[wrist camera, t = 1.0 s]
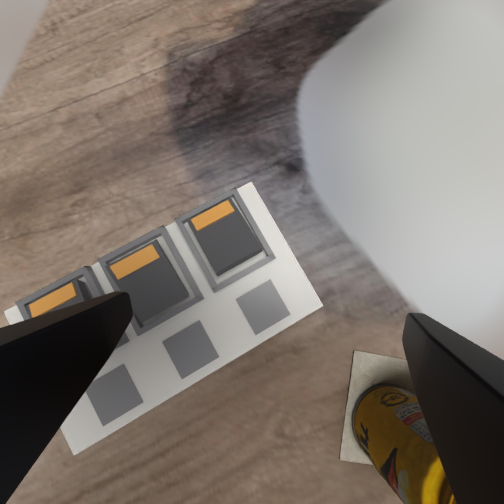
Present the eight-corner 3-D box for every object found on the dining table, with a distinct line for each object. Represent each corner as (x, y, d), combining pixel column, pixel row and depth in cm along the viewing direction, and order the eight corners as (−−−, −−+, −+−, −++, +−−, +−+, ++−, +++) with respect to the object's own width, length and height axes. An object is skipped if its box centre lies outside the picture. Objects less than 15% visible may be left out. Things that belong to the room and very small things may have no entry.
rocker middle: (143, 318, 20) (141, 324, 19) (108, 264, 20) (104, 266, 19) (189, 293, 21) (188, 297, 20) (156, 239, 20) (154, 240, 19)
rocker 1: (53, 368, 19) (41, 369, 18) (36, 307, 20) (23, 305, 19) (105, 339, 19) (96, 338, 18) (84, 282, 21) (75, 278, 20)
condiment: (339, 458, 23) (452, 642, 11) (353, 349, 24) (471, 411, 12) (426, 472, 23) (629, 667, 11) (437, 364, 24) (632, 439, 12)
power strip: (16, 482, 21) (-24, 517, 18) (-47, 348, 22) (-96, 359, 19) (314, 303, 24) (326, 306, 21) (249, 192, 25) (252, 177, 22)
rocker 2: (217, 276, 20) (214, 272, 19) (190, 226, 21) (186, 219, 20) (262, 251, 20) (261, 246, 19) (232, 203, 22) (230, 196, 21)
